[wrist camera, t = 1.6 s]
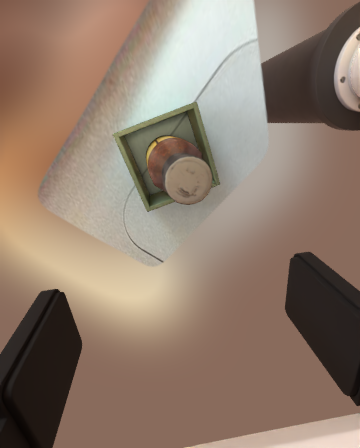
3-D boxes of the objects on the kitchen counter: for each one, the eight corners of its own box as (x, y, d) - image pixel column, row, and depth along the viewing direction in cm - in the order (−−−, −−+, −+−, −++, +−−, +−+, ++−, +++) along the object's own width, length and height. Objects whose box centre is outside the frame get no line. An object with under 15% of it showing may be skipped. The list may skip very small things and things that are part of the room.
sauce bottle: (160, 183, 39) (171, 235, 21) (137, 149, 37) (127, 176, 18) (194, 160, 38) (236, 194, 20) (173, 125, 36) (199, 127, 18)
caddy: (189, 104, 35) (196, 101, 29) (210, 175, 39) (220, 184, 34) (118, 132, 35) (112, 134, 30) (147, 199, 40) (147, 212, 34)
